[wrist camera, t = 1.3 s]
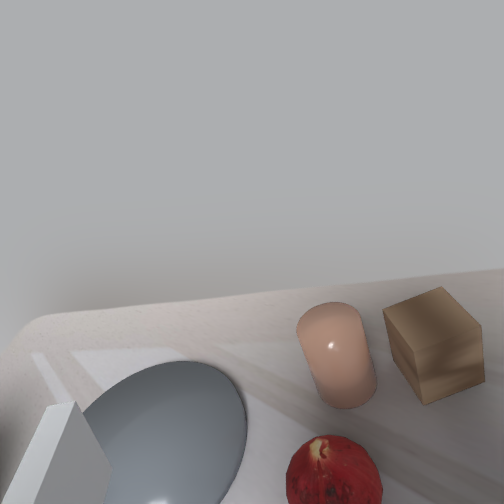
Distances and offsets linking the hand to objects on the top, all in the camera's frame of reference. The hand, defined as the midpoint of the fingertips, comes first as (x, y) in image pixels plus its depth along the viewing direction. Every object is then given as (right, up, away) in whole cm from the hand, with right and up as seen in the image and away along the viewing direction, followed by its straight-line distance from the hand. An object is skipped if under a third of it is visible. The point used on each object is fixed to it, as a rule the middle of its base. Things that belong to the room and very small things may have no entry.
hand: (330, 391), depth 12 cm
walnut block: (+13, -6, +24) cm, 28 cm away
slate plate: (-11, -14, +27) cm, 32 cm away
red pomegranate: (+4, -14, +18) cm, 23 cm away
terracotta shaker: (+6, -8, +26) cm, 28 cm away
